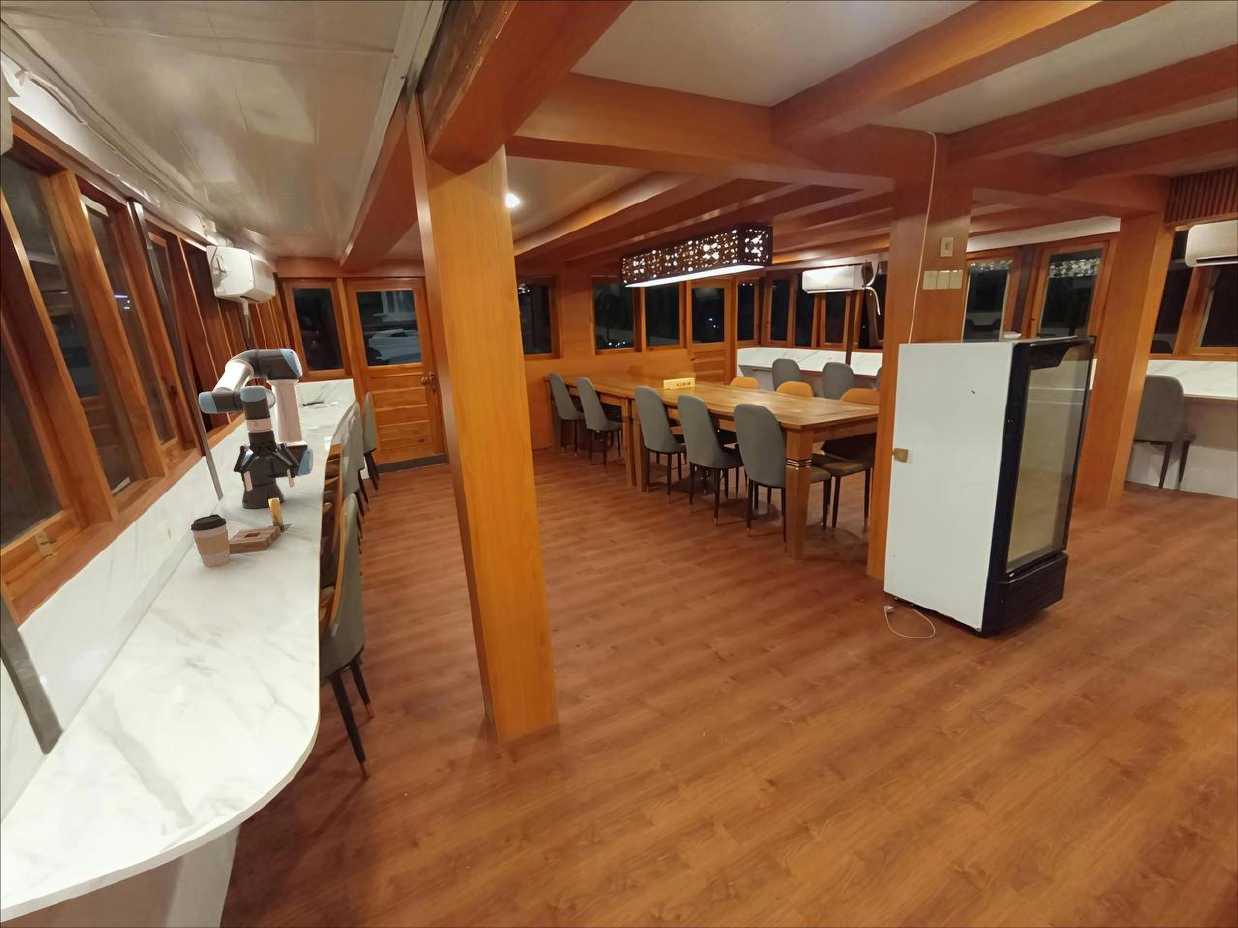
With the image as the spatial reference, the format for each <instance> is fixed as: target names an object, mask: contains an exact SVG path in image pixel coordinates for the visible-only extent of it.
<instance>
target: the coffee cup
mask: <svg viewBox="0 0 1238 928" xmlns="http://www.w3.org/2000/svg"><path fill="white" fill-rule="evenodd" d="M190 531H192V533H193V539H194V542H195V545H196V548H197V551H198V553H199V555H200V558H201V560H202V564H203V565H204V567H207V568H208V567H209V568H212V567H218V566H221V565H225V564H227V563H229V562H230V561H231V553H230V552H229V540H230V539H229V532H228V531H229V530H228V528H227V520H226V519H225V518H223V517H222V516H220V515H219V514H216V513H215V514H214V513H213V514H210V515H207V516H204V517H200V518H197V519H195V520H193V523H192V524H190Z"/></svg>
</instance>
